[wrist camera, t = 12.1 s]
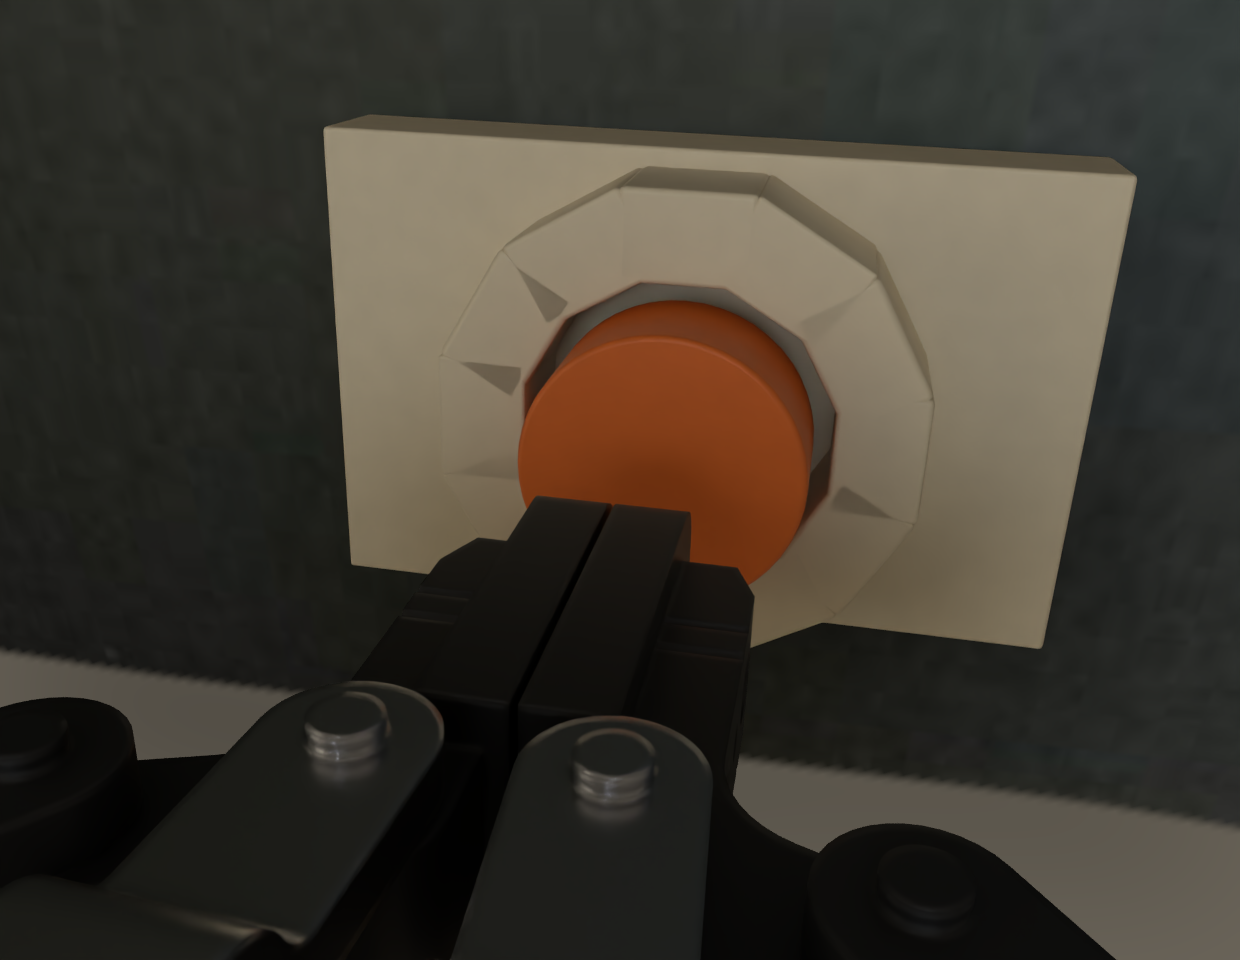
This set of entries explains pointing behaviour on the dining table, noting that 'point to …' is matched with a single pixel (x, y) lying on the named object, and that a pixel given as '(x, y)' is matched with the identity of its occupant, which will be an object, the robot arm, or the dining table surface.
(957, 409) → the panel
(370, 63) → the dining table surface
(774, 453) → the button
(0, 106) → the dining table surface
